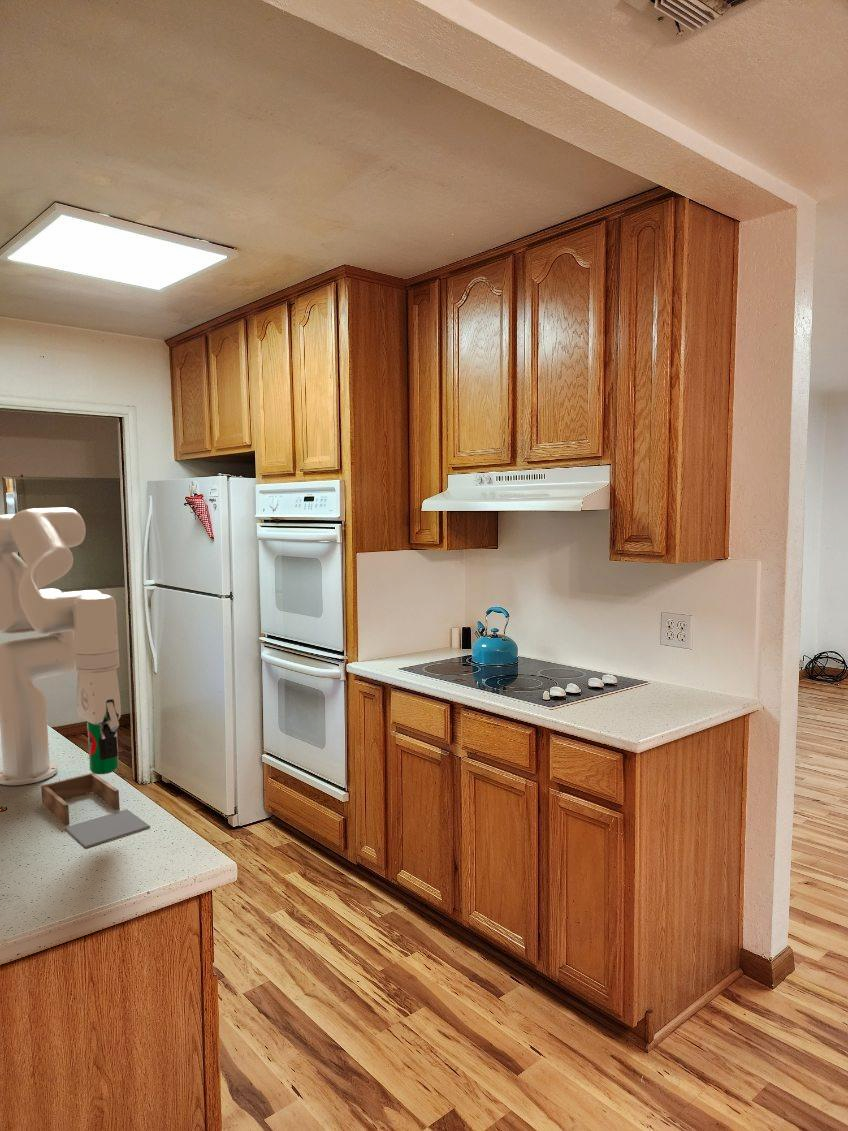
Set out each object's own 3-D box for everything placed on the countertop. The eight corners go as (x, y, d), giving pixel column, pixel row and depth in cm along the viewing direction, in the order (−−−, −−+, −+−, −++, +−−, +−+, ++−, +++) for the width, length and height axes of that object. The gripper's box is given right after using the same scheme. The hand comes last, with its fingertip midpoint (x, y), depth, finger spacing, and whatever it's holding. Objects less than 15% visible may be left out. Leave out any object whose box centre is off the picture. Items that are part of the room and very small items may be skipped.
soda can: (108, 776, 142) (105, 713, 141) (84, 774, 143) (80, 712, 142) (124, 766, 147) (121, 705, 146) (100, 764, 148) (97, 704, 147)
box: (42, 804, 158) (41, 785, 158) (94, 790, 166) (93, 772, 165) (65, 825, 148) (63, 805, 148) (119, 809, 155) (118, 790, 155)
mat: (64, 829, 146) (64, 827, 146) (127, 810, 155) (126, 808, 154) (85, 848, 138) (85, 846, 138) (149, 827, 147) (149, 825, 146)
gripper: (61, 657, 147) (67, 749, 149) (93, 670, 135) (99, 771, 136) (101, 651, 152) (106, 740, 154) (135, 663, 140) (141, 760, 141)
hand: (103, 753), depth 145 cm, fingers closed on soda can, 4 cm apart
